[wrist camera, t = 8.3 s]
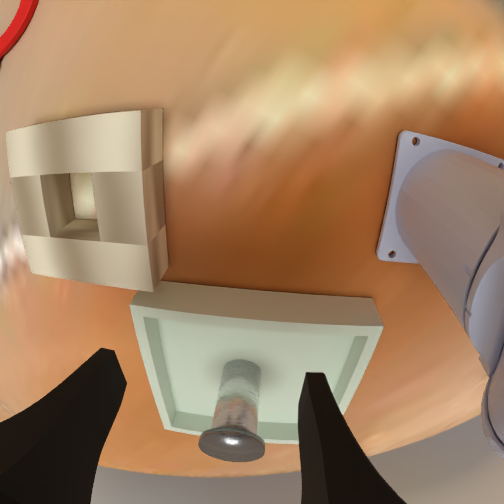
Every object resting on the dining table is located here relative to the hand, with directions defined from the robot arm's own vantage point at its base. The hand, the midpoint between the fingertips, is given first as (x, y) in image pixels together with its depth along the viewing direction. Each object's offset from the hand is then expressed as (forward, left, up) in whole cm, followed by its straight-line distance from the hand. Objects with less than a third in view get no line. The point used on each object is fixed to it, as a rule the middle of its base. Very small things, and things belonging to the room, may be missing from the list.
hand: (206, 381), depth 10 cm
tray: (-2, +10, -10) cm, 14 cm away
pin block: (+9, -4, -10) cm, 14 cm away
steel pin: (-1, +10, -9) cm, 13 cm away
